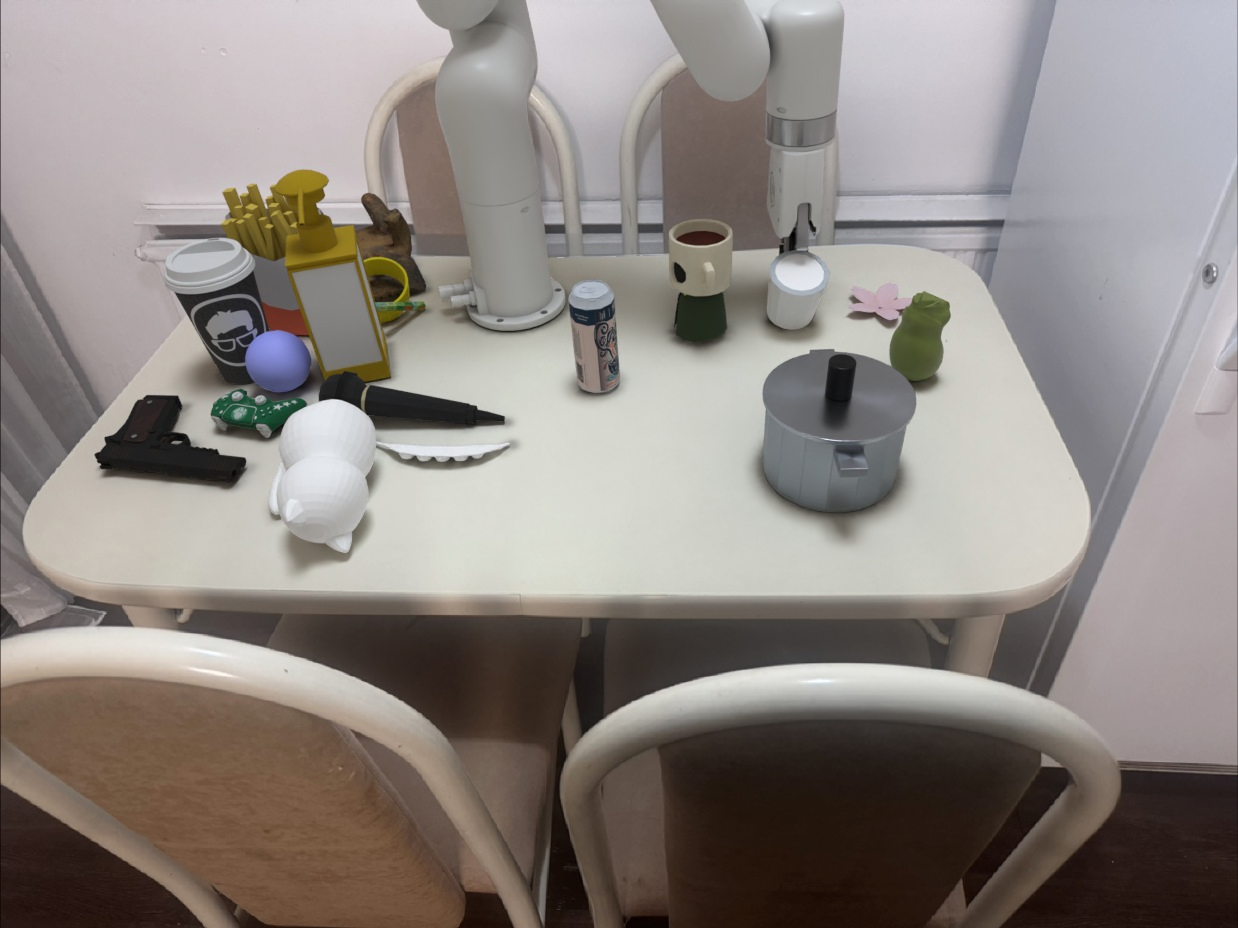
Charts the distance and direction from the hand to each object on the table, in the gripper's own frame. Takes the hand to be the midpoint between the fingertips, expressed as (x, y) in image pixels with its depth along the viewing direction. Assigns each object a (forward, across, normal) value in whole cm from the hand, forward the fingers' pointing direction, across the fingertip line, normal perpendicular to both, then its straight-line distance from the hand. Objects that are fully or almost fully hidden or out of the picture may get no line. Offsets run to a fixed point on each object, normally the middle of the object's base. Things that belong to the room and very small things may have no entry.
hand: (792, 276), depth 106 cm
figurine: (+2, -22, -62) cm, 66 cm away
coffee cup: (+2, +8, -66) cm, 66 cm away
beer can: (+3, +15, -24) cm, 29 cm away
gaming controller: (0, +16, -60) cm, 63 cm away
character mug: (+3, +6, -12) cm, 14 cm away
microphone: (+2, +22, -34) cm, 40 cm away
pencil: (-7, +11, -54) cm, 55 cm away
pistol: (+1, +16, -67) cm, 69 cm away
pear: (+4, +17, +10) cm, 20 cm away
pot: (+4, +31, -1) cm, 32 cm away
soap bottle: (+2, +12, -52) cm, 53 cm away
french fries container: (+2, 0, -61) cm, 61 cm away
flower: (+4, +3, +10) cm, 11 cm away
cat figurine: (-2, +26, -51) cm, 57 cm away
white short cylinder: (+3, +4, -1) cm, 5 cm away
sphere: (+1, +10, -59) cm, 60 cm away
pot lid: (-5, +31, -1) cm, 32 cm away
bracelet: (-3, -1, -51) cm, 51 cm away
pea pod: (+1, +26, -41) cm, 48 cm away
